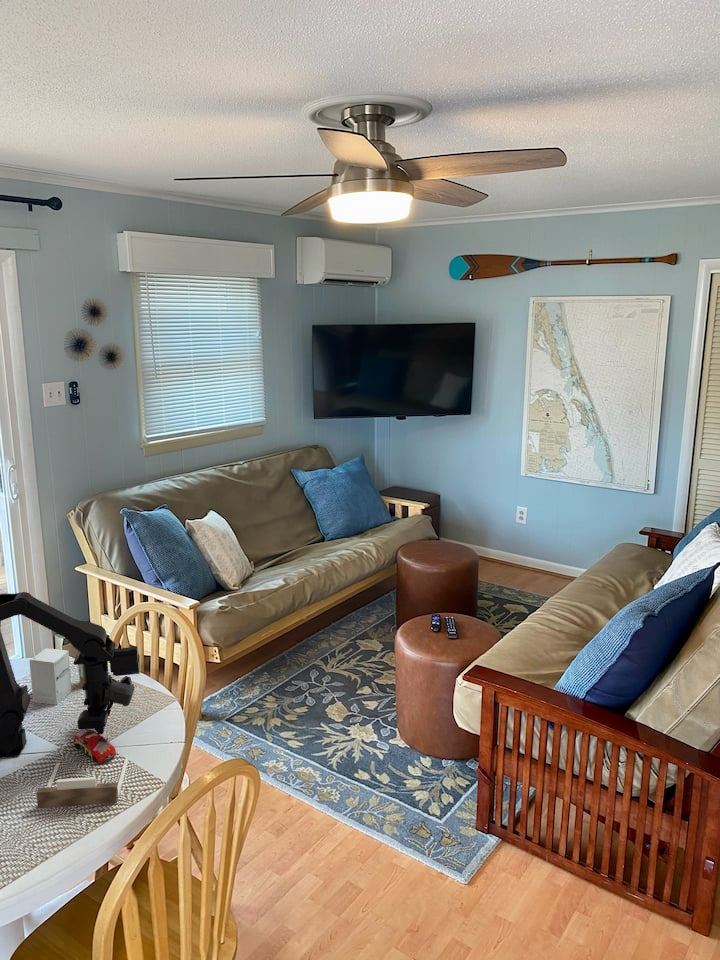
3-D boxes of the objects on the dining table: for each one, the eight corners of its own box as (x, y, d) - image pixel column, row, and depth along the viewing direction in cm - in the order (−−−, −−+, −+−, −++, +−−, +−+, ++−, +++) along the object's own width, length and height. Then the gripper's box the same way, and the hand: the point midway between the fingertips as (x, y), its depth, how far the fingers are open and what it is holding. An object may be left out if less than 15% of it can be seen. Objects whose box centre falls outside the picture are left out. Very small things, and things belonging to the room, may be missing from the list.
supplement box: (56, 705, 195) (53, 662, 192) (32, 702, 197) (28, 659, 194) (72, 691, 202) (69, 650, 199) (48, 688, 204) (45, 647, 201)
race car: (120, 758, 174) (119, 743, 173) (99, 768, 170) (98, 753, 169) (91, 736, 183) (90, 722, 182) (71, 745, 179) (69, 731, 178)
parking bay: (37, 808, 156) (35, 784, 155) (56, 764, 171) (54, 741, 170) (116, 802, 159) (115, 778, 157) (128, 759, 173) (127, 737, 172)
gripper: (124, 695, 169) (128, 753, 173) (136, 656, 187) (139, 710, 191) (74, 698, 167) (79, 757, 171) (91, 659, 185) (95, 713, 189)
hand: (101, 733), depth 181 cm, fingers closed
